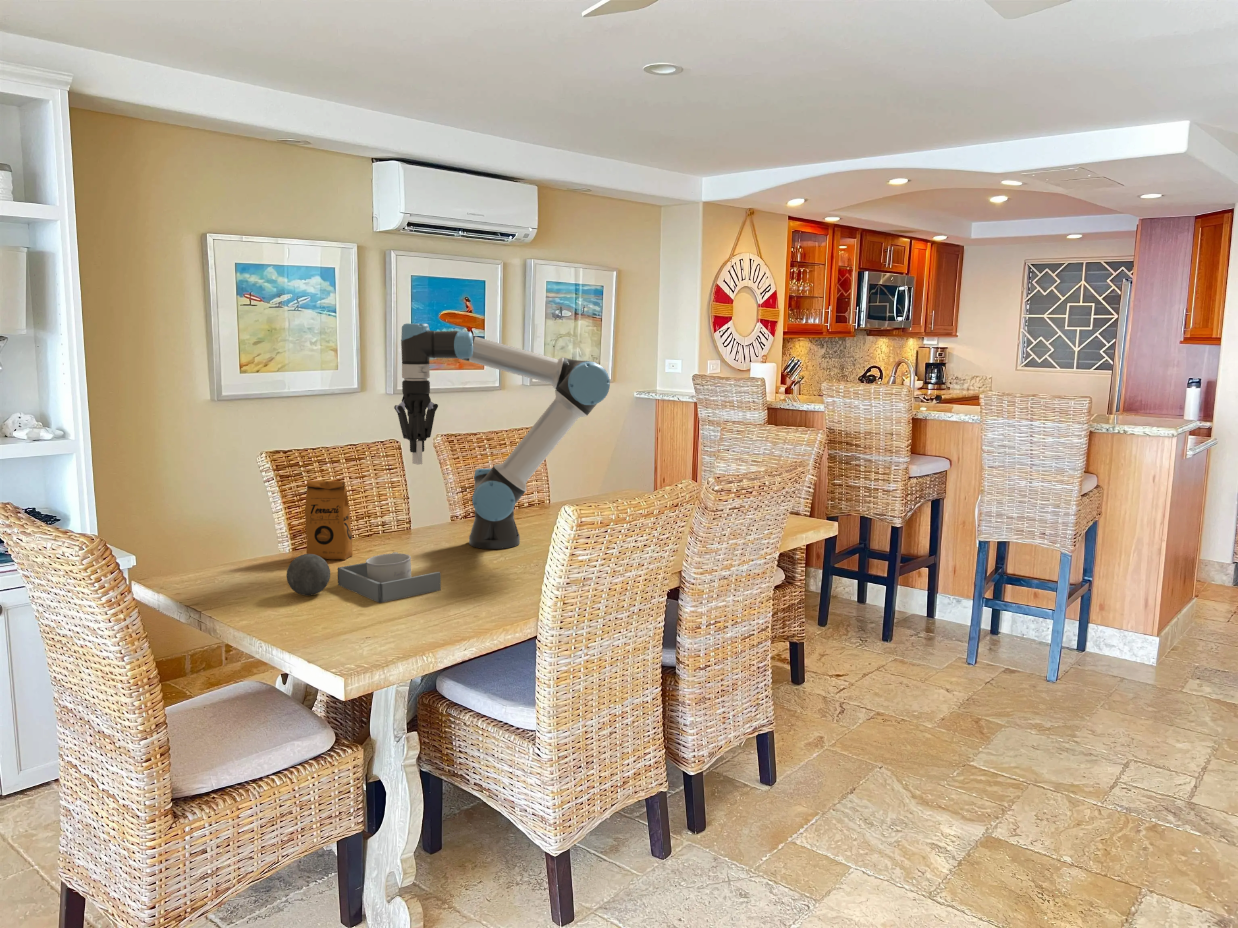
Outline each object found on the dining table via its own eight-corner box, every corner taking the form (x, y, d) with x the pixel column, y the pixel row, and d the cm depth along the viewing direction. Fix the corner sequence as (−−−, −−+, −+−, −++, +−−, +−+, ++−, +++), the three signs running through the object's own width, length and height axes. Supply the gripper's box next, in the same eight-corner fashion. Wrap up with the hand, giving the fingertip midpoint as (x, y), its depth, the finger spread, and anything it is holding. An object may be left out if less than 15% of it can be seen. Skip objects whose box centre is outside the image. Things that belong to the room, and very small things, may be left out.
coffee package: (345, 562, 256) (343, 483, 253) (301, 561, 257) (298, 482, 254) (358, 554, 266) (356, 478, 263) (315, 552, 267) (313, 476, 264)
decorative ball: (327, 599, 221) (326, 558, 219) (283, 601, 219) (282, 559, 218) (333, 588, 231) (332, 548, 229) (291, 589, 229) (289, 549, 228)
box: (397, 573, 245) (397, 557, 244) (440, 589, 230) (440, 572, 230) (338, 584, 234) (337, 567, 233) (379, 602, 219) (379, 584, 218)
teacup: (401, 596, 225) (400, 564, 224) (358, 593, 227) (358, 561, 225) (423, 581, 238) (422, 550, 237) (383, 578, 240) (382, 548, 239)
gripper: (402, 380, 251) (404, 467, 254) (443, 379, 260) (444, 463, 263) (388, 379, 256) (389, 464, 260) (428, 378, 265) (430, 460, 269)
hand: (417, 463), depth 261 cm, fingers closed
